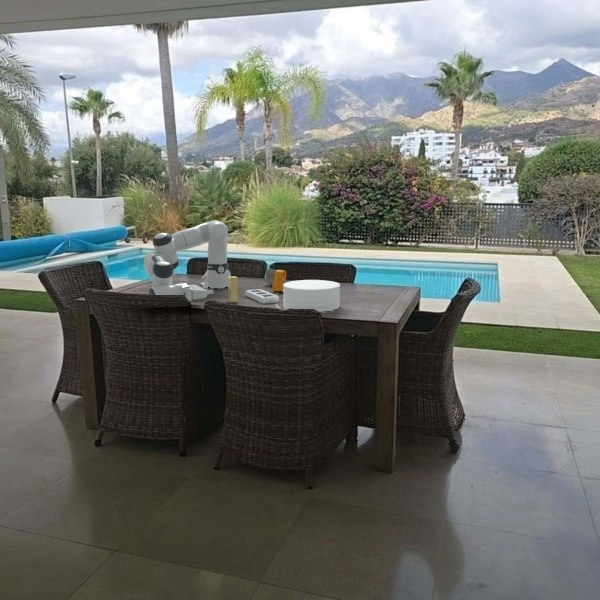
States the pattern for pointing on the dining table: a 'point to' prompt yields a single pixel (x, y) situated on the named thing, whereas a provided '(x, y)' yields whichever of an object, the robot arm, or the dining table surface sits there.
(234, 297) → the peg
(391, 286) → the dining table surface
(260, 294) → the white power strip
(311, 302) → the plate stack
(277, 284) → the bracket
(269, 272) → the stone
